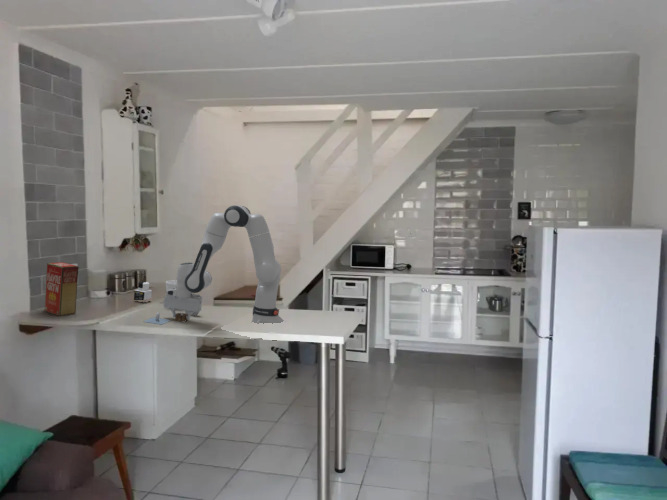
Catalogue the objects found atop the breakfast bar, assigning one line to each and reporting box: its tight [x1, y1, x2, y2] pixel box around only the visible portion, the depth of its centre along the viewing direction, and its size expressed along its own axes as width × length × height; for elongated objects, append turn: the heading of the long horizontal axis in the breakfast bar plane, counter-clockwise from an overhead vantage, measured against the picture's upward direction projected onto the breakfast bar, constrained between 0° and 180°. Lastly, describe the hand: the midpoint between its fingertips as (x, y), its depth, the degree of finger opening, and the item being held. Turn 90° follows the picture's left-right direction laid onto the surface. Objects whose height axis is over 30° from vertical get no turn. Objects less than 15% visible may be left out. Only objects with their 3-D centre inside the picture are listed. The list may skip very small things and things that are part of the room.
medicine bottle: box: [133, 281, 153, 301], centre depth 296 cm, size 7×7×12 cm
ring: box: [174, 312, 188, 322], centre depth 263 cm, size 6×6×3 cm
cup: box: [165, 279, 177, 309], centre depth 287 cm, size 12×12×16 cm
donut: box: [184, 311, 200, 317], centre depth 275 cm, size 10×4×10 cm, turn 68°
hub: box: [143, 312, 171, 325], centre depth 255 cm, size 10×10×5 cm
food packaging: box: [43, 261, 80, 317], centre depth 252 cm, size 13×9×25 cm
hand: (181, 317), depth 263 cm, fingers closed on ring, 6 cm apart
